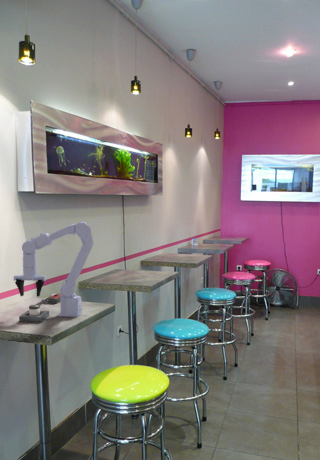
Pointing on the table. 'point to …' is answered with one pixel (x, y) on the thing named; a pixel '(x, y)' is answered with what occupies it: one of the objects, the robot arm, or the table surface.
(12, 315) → the table surface
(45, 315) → the grey square frame
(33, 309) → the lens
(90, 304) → the table surface
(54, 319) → the table surface
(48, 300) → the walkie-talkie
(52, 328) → the table surface
